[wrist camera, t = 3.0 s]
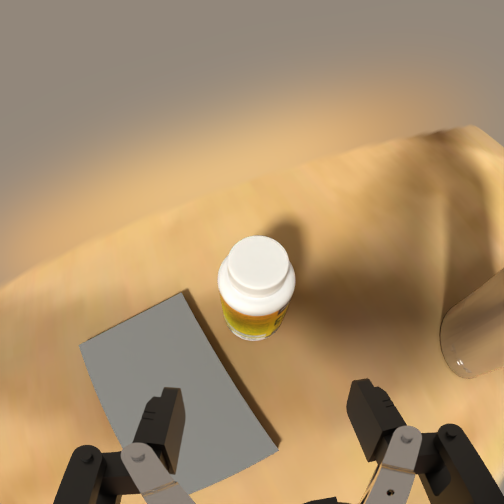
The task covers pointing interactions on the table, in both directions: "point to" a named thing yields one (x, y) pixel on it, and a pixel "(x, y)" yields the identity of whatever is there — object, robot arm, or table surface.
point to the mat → (178, 376)
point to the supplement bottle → (255, 287)
